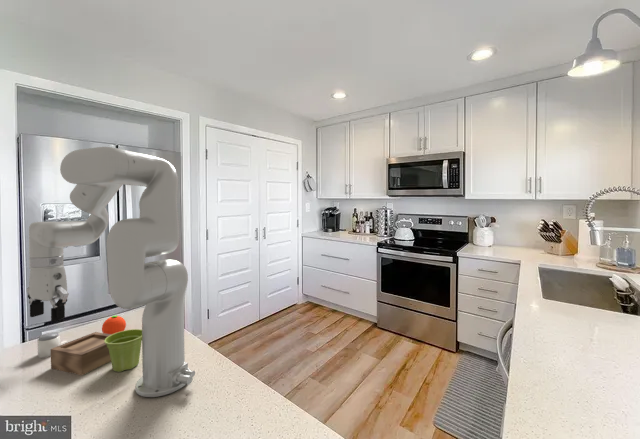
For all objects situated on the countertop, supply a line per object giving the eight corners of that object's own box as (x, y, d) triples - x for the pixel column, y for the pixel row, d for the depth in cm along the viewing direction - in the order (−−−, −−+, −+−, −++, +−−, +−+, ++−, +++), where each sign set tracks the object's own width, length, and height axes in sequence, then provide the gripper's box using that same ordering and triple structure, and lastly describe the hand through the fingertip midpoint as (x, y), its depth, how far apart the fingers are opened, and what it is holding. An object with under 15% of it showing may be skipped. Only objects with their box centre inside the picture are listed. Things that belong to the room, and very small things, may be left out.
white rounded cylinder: (64, 351, 89) (63, 332, 89) (44, 359, 84) (44, 339, 84) (53, 349, 90) (53, 330, 90) (33, 357, 86) (33, 337, 85)
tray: (124, 355, 87) (124, 336, 87) (82, 376, 76) (81, 354, 76) (95, 349, 91) (95, 331, 91) (51, 369, 79) (50, 349, 79)
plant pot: (125, 377, 75) (124, 344, 75) (96, 373, 77) (95, 341, 76) (153, 359, 84) (152, 330, 84) (126, 356, 86) (125, 328, 86)
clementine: (104, 333, 102) (104, 313, 102) (127, 329, 106) (127, 310, 106) (99, 342, 95) (99, 321, 95) (124, 337, 99) (124, 317, 99)
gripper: (80, 262, 88) (80, 317, 88) (43, 258, 93) (43, 310, 93) (50, 266, 80) (51, 326, 81) (12, 262, 86) (13, 318, 86)
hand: (47, 317), depth 87 cm, fingers open, 9 cm apart
